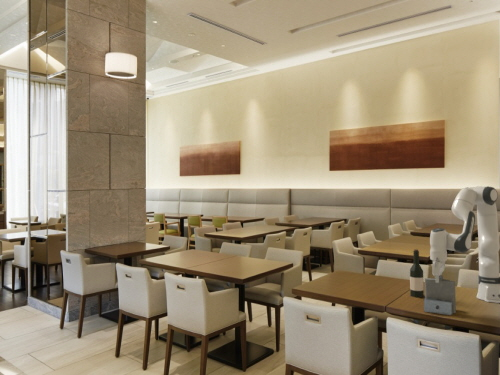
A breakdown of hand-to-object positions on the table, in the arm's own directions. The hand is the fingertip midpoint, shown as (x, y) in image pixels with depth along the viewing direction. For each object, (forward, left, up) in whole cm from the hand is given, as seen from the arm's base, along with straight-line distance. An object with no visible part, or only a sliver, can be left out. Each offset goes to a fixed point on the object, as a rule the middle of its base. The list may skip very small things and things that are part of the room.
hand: (438, 280), depth 230 cm
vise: (0, 0, -17) cm, 17 cm away
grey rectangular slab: (-1, 0, -17) cm, 17 cm away
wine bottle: (+17, -26, -17) cm, 35 cm away
